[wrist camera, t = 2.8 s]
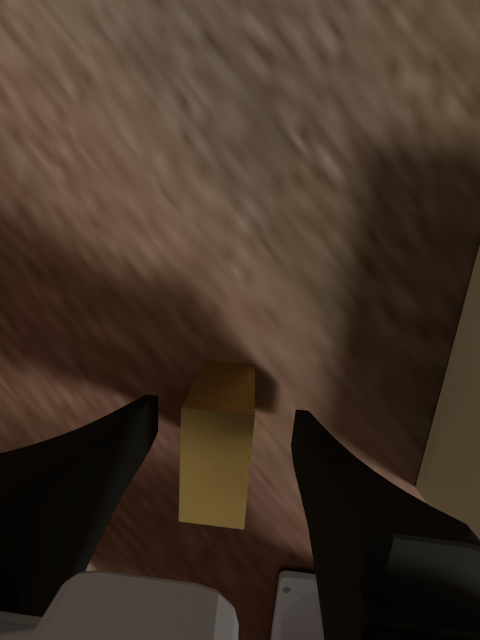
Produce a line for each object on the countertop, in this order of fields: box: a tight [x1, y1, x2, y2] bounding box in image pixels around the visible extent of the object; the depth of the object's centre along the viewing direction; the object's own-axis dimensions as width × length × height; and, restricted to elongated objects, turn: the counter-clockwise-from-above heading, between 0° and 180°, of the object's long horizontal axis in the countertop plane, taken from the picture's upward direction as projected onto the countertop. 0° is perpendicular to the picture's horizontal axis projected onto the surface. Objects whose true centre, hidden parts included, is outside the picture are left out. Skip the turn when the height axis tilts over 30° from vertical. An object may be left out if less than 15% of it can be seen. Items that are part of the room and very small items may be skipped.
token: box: [179, 361, 255, 530], centre depth 11 cm, size 5×3×5 cm, turn 176°
